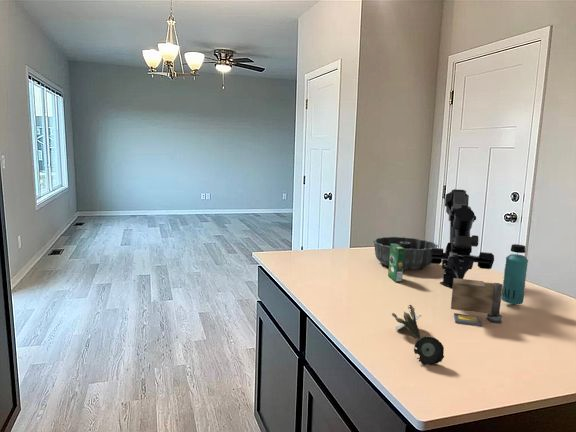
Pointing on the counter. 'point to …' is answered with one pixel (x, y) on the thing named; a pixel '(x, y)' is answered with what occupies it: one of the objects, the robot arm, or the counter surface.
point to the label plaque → (467, 319)
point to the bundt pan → (414, 251)
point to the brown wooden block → (476, 296)
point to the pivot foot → (494, 318)
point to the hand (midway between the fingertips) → (460, 281)
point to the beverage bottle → (515, 276)
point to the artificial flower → (422, 340)
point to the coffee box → (396, 262)
